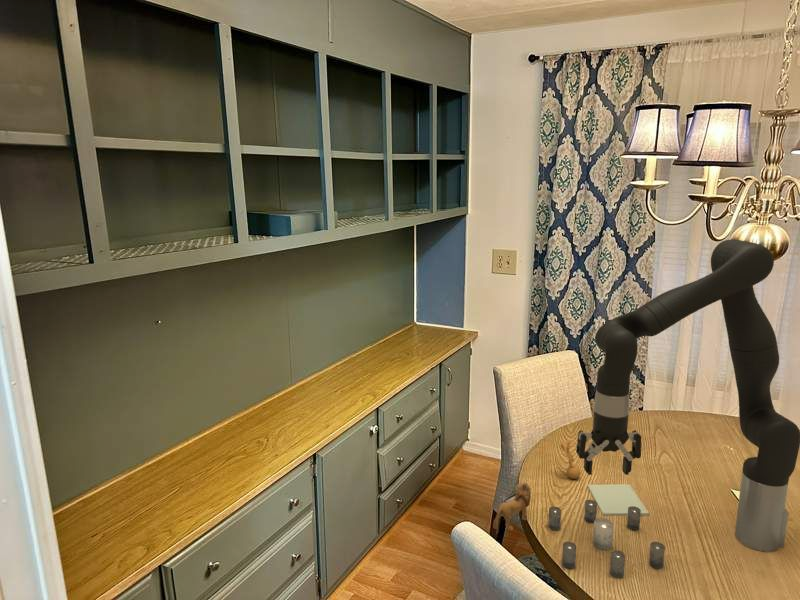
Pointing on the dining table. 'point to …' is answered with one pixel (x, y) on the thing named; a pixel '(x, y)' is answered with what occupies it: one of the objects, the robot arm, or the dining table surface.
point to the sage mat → (616, 499)
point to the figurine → (572, 470)
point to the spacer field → (616, 556)
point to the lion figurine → (514, 505)
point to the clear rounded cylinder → (603, 534)
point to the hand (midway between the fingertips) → (606, 473)
